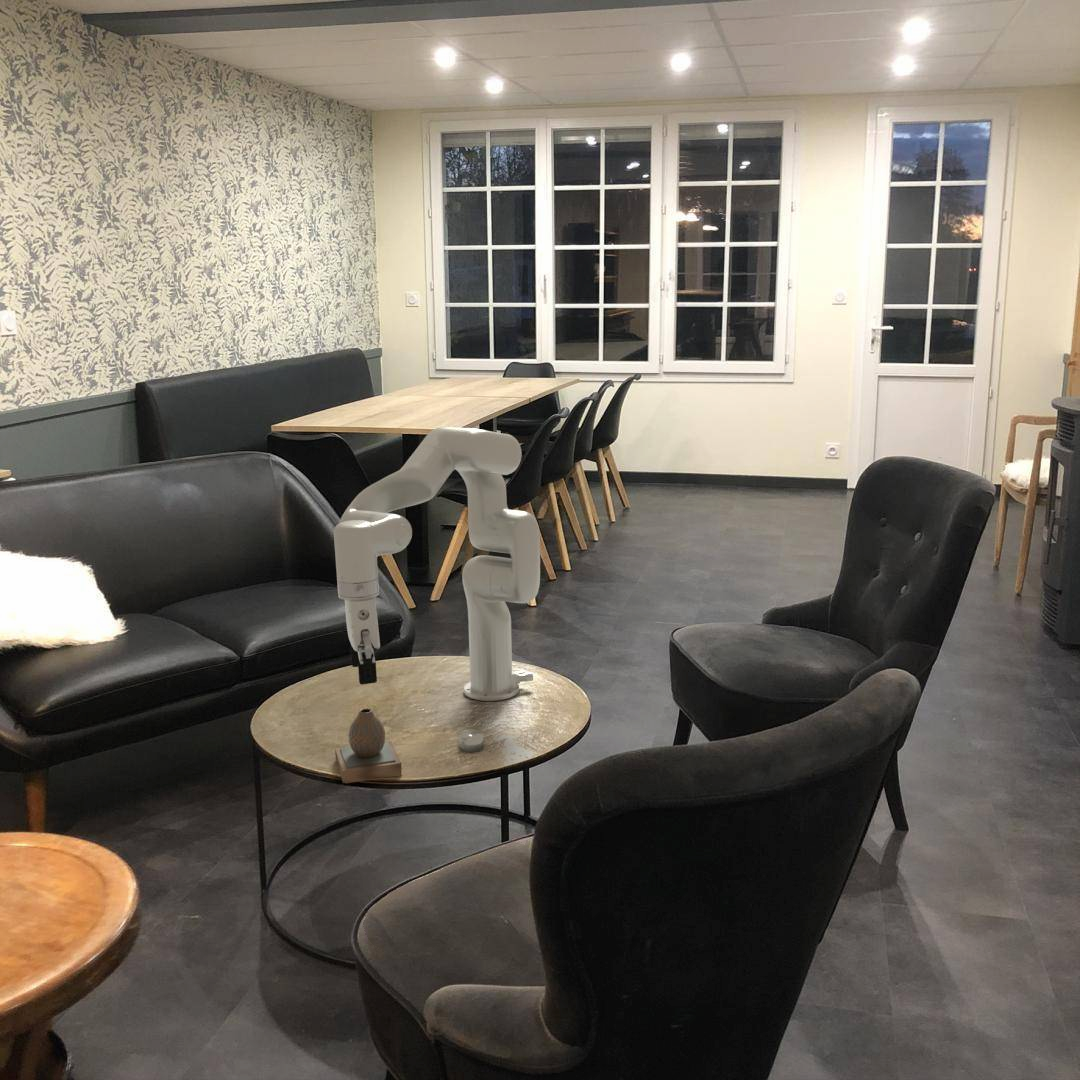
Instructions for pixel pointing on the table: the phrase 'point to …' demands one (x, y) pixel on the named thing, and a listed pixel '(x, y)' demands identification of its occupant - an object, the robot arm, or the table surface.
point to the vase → (366, 734)
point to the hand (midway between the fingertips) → (364, 674)
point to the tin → (470, 741)
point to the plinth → (367, 764)
